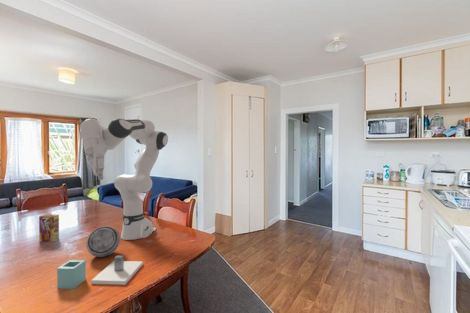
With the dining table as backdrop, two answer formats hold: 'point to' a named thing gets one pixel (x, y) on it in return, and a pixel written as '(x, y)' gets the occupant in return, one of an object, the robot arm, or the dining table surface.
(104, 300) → the dining table surface
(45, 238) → the candy box
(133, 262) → the board
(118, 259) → the grey rectangular block
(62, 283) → the teal square hollow box
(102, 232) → the decorative orb
